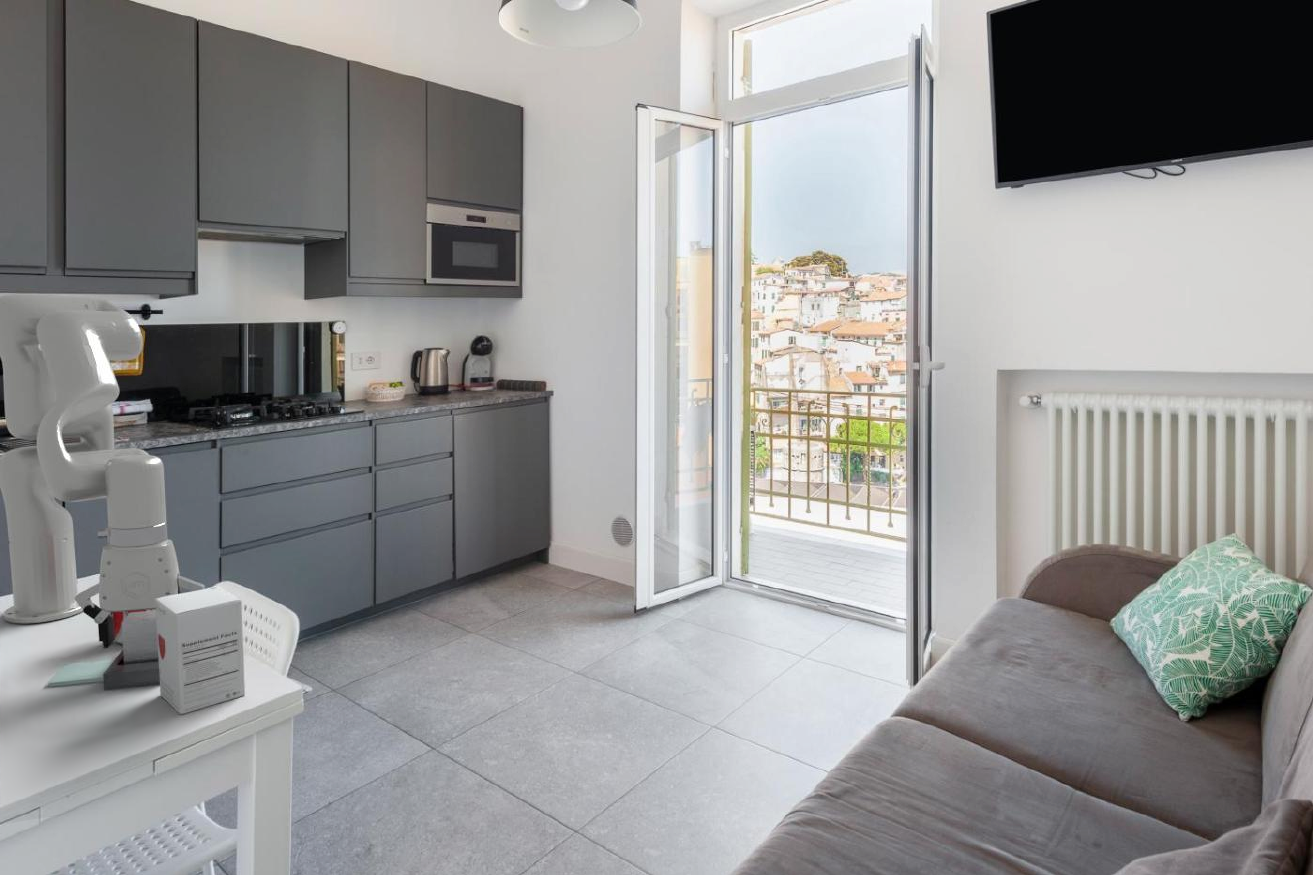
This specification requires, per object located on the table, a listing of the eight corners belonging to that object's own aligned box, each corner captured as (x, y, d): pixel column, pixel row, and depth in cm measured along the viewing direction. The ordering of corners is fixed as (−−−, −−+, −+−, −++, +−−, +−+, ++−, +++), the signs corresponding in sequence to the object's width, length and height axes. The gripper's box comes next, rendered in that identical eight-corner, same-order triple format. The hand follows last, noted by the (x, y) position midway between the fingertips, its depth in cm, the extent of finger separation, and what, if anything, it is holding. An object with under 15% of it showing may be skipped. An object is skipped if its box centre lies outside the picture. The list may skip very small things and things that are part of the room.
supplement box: (158, 695, 115) (152, 597, 113) (223, 677, 122) (219, 584, 120) (179, 716, 109) (173, 613, 107) (246, 695, 116) (242, 598, 114)
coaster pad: (65, 668, 123) (65, 664, 123) (117, 662, 126) (117, 659, 126) (48, 686, 117) (48, 682, 117) (103, 681, 119) (103, 677, 119)
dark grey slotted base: (134, 649, 131) (134, 634, 131) (189, 644, 134) (188, 629, 134) (104, 690, 116) (103, 673, 116) (166, 683, 119) (165, 667, 119)
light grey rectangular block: (133, 666, 125) (130, 612, 124) (166, 663, 126) (163, 609, 125) (124, 678, 120) (121, 622, 119) (159, 675, 122) (156, 619, 121)
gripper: (62, 545, 114) (70, 657, 116) (197, 537, 120) (202, 644, 122) (80, 532, 121) (87, 638, 123) (207, 526, 127) (211, 627, 129)
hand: (144, 641), depth 123 cm, fingers open, 9 cm apart
